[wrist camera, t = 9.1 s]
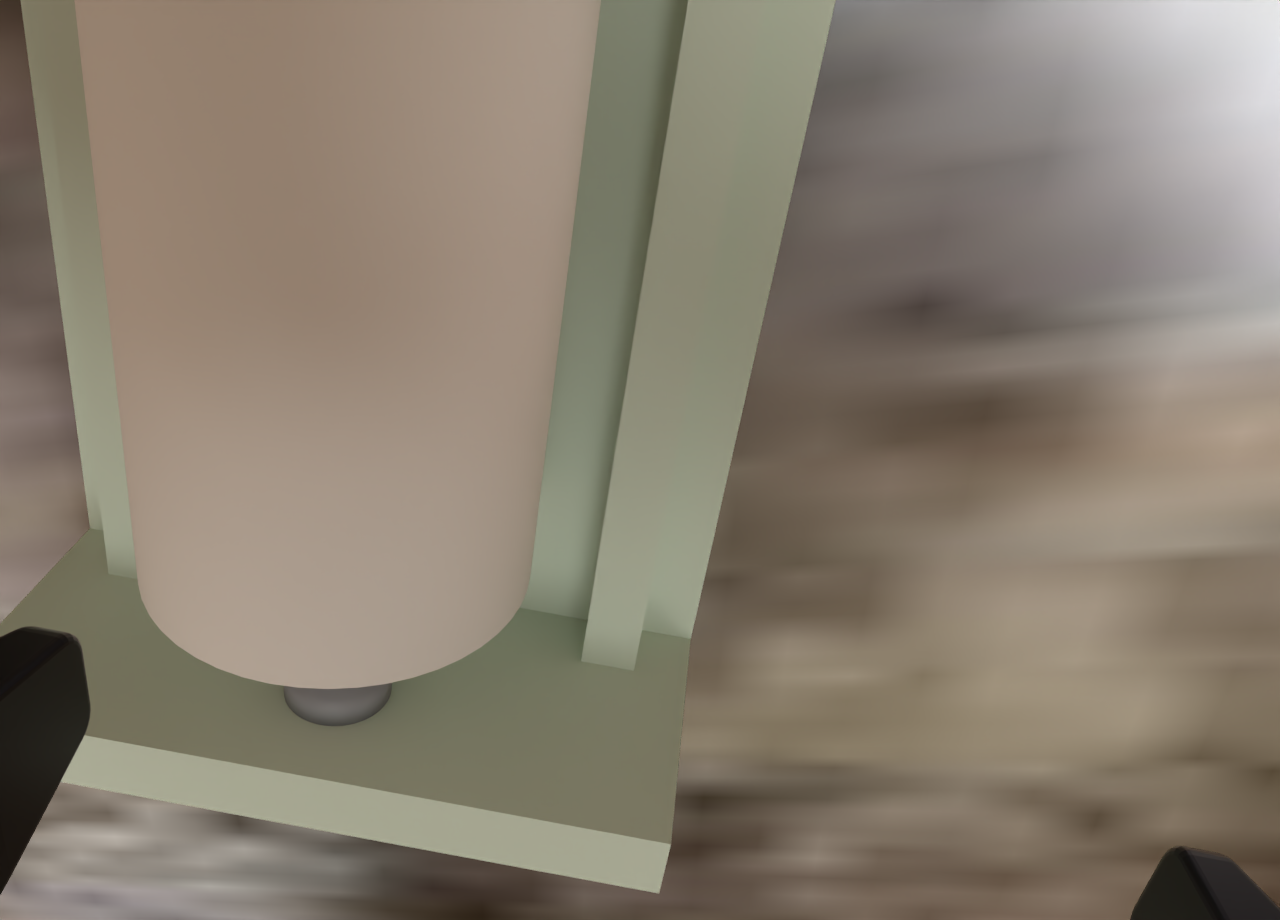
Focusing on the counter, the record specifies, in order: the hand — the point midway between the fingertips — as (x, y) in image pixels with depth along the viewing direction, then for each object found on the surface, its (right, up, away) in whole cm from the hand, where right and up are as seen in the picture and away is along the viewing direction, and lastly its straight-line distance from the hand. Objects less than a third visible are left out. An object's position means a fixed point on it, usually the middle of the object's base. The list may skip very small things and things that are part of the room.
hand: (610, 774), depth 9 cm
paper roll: (-3, +7, +8) cm, 12 cm away
